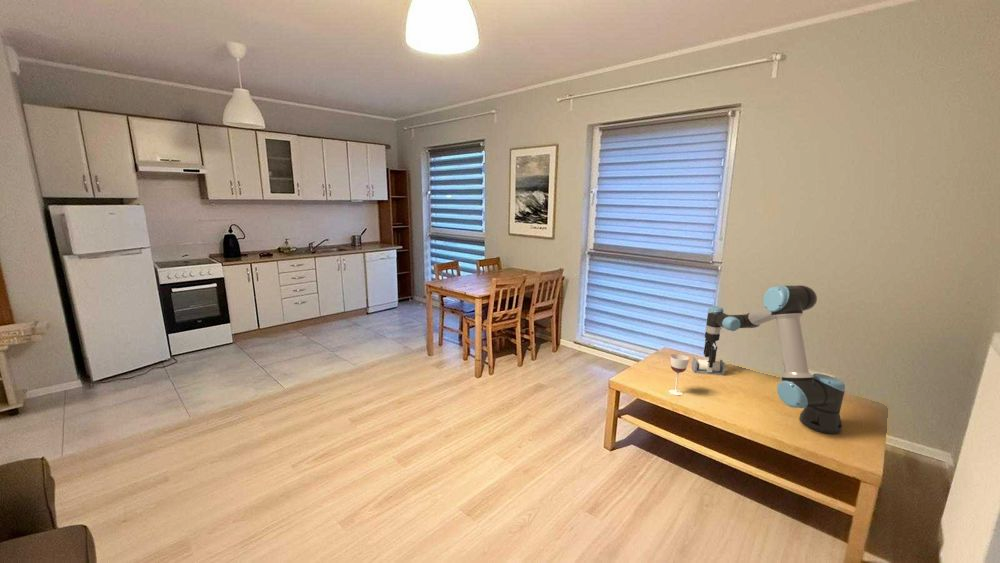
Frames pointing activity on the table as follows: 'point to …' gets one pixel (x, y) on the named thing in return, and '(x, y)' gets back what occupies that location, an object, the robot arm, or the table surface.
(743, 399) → the table surface
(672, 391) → the wineglass
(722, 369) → the holder
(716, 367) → the paper roll
